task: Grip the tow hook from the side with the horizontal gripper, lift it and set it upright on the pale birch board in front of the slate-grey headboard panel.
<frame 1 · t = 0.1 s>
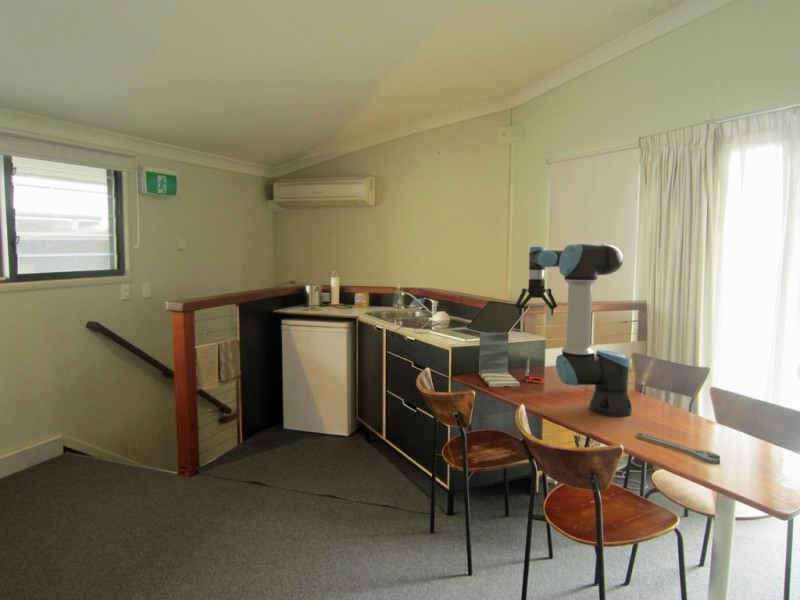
hand: (535, 322, 229), 28 cm above the table, tool pointing down, fingers open, 13 cm apart
adjustable wrench: (677, 450, 148), on the table
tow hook: (534, 381, 226), on the table
headboard stand: (498, 380, 228), on the table
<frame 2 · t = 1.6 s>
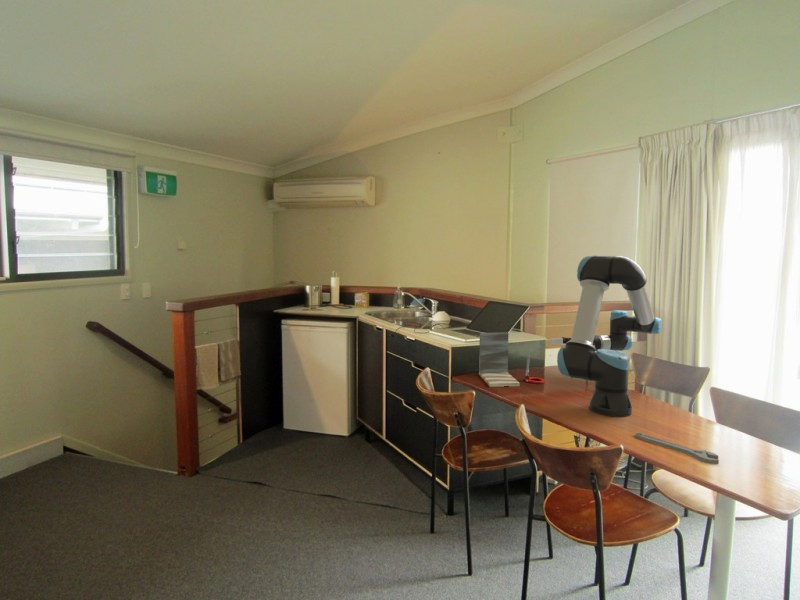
hand: (555, 344, 225), 18 cm above the table, tool horizontal, fingers open, 13 cm apart
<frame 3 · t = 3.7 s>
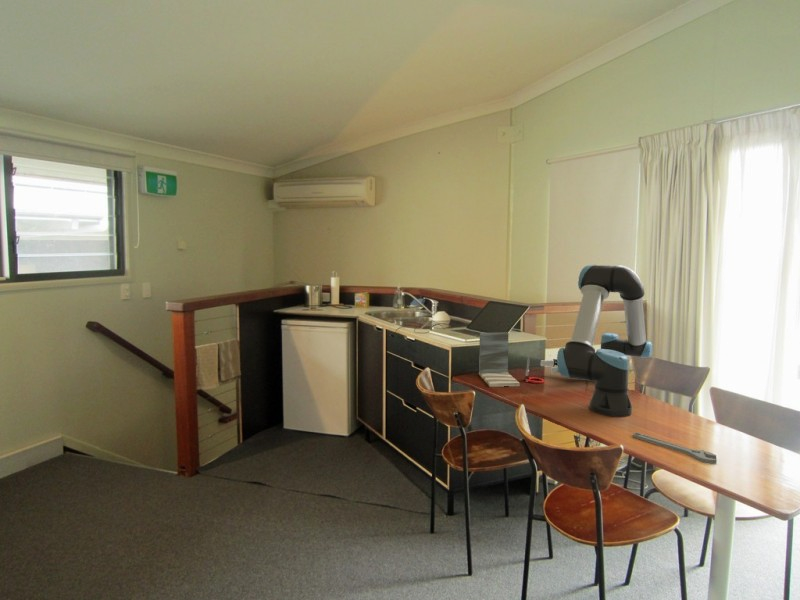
hand: (545, 366, 226), 7 cm above the table, tool horizontal, fingers open, 13 cm apart
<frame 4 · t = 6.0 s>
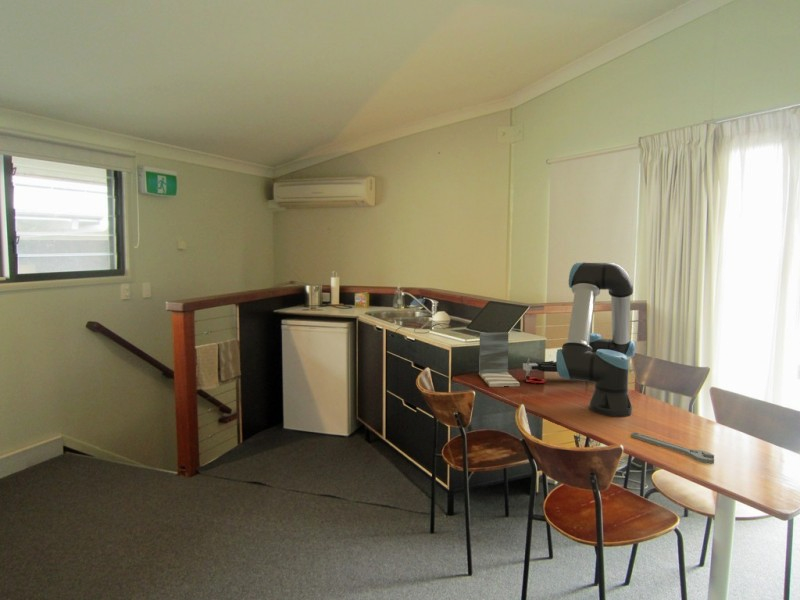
hand: (523, 367, 225), 7 cm above the table, tool horizontal, fingers closed on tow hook
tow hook: (535, 381, 225), on the table, touching gripper
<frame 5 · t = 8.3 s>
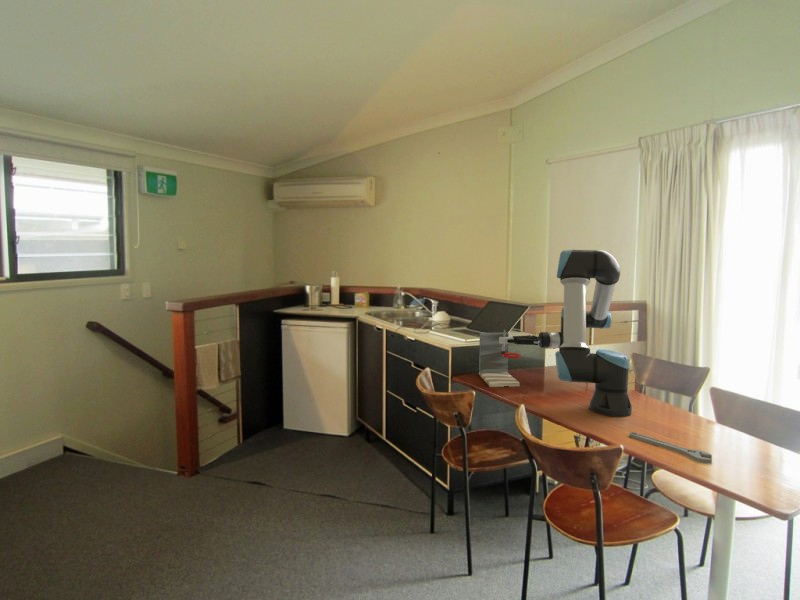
hand: (499, 340, 224), 20 cm above the table, tool horizontal, fingers closed on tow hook
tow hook: (511, 356, 225), point 12 cm above the table, touching gripper
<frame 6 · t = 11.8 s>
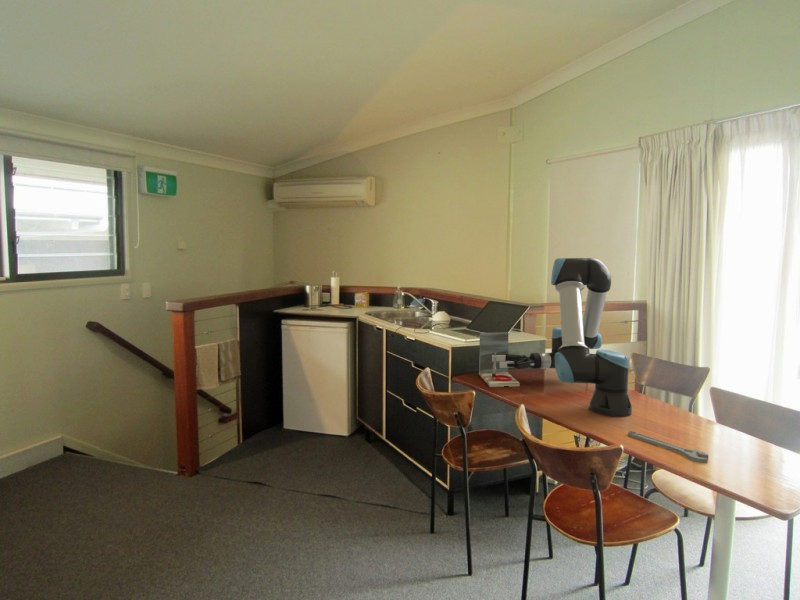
hand: (495, 361, 224), 10 cm above the table, tool horizontal, fingers open, 13 cm apart
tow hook: (501, 379, 224), point 1 cm above the table, touching headboard stand
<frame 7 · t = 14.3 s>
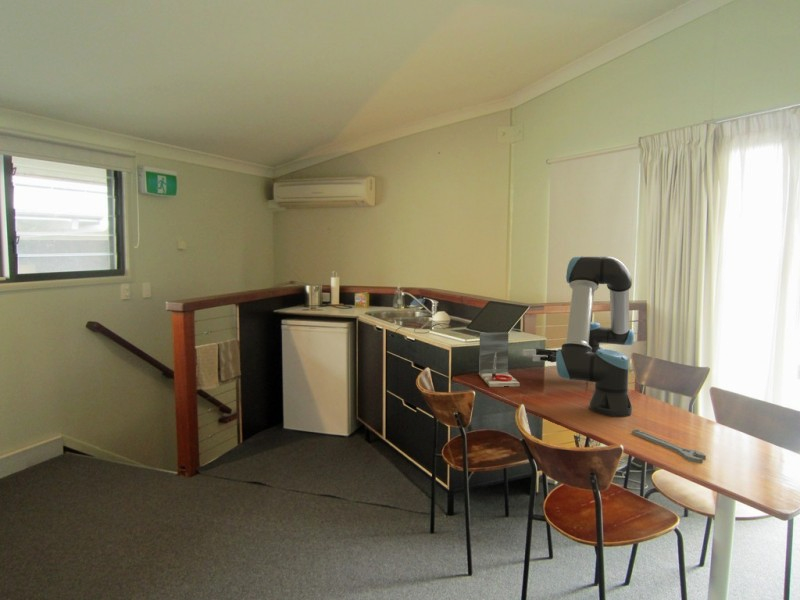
hand: (527, 355, 224), 13 cm above the table, tool horizontal, fingers open, 13 cm apart
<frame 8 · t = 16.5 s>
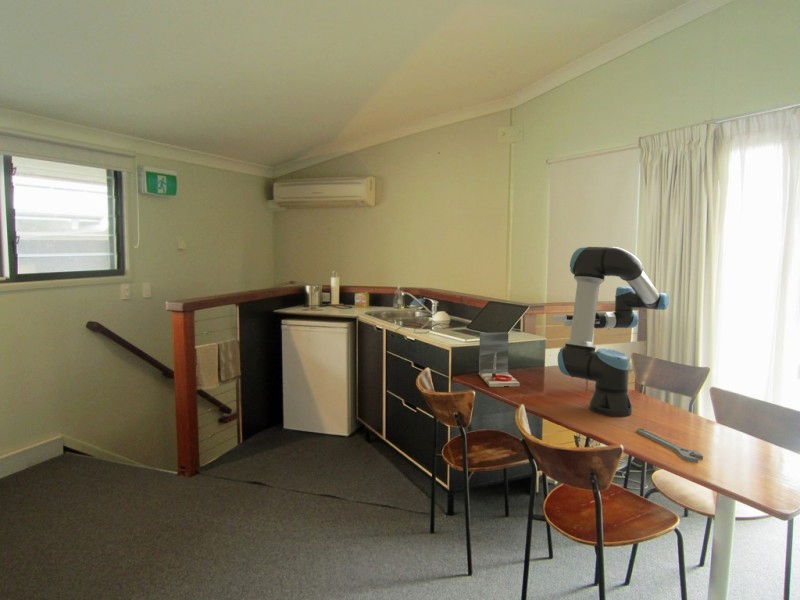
hand: (558, 320, 218), 30 cm above the table, tool horizontal, fingers open, 13 cm apart
at the end: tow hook inside the target area on the headboard stand (0.6 cm from its centre), point 1.3 cm above the headboard stand's base; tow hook tilted 0°; the gripper is holding nothing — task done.
